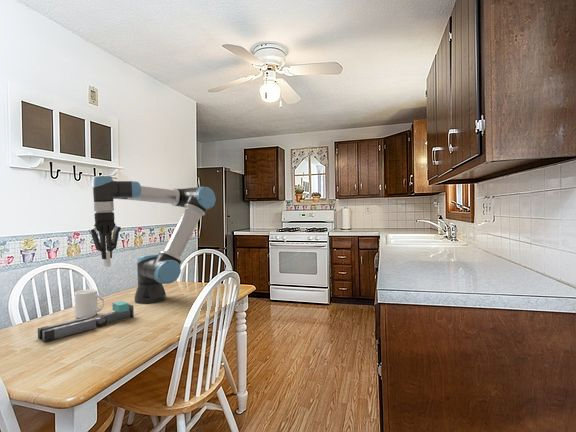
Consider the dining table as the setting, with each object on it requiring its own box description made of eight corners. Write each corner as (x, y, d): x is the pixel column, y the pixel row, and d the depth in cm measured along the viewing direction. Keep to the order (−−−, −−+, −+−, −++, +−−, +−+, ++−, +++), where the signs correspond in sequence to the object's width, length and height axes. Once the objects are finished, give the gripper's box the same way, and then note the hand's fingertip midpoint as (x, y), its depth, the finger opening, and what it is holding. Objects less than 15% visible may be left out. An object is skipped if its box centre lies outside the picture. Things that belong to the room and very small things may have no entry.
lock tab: (122, 307, 148) (121, 301, 148) (128, 310, 144) (128, 303, 144) (112, 310, 145) (112, 303, 145) (119, 312, 141) (119, 305, 141)
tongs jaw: (93, 326, 135) (93, 318, 135) (96, 328, 133) (95, 319, 133) (42, 340, 122) (42, 330, 122) (44, 341, 120) (44, 332, 120)
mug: (98, 318, 147) (98, 293, 147) (70, 318, 147) (70, 294, 146) (109, 312, 155) (108, 288, 155) (82, 312, 155) (82, 289, 155)
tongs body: (127, 315, 151) (127, 303, 150) (134, 317, 147) (134, 305, 147) (37, 337, 125) (37, 323, 125) (43, 341, 121) (43, 327, 121)
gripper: (114, 211, 154) (117, 263, 155) (84, 212, 144) (87, 268, 145) (123, 211, 150) (126, 264, 151) (92, 212, 139) (96, 269, 140)
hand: (107, 266), depth 148 cm, fingers closed
